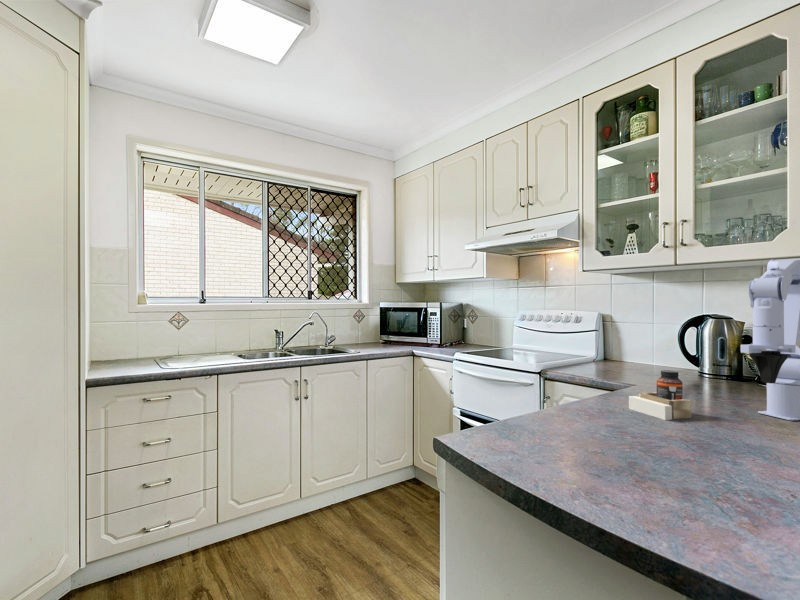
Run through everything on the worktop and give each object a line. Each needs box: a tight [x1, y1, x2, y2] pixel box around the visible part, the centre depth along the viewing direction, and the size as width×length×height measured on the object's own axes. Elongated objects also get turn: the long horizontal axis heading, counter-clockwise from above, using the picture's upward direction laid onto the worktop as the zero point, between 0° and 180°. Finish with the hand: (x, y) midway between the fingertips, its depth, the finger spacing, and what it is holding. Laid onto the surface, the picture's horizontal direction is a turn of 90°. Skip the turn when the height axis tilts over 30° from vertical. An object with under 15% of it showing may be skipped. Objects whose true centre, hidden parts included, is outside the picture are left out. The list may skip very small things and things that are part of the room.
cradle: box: [636, 391, 692, 420], centre depth 111 cm, size 7×10×4 cm
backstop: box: [628, 395, 673, 421], centre depth 110 cm, size 2×12×4 cm, turn 13°
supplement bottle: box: [656, 369, 684, 400], centre depth 111 cm, size 6×6×11 cm
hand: (768, 382), depth 99 cm, fingers closed
